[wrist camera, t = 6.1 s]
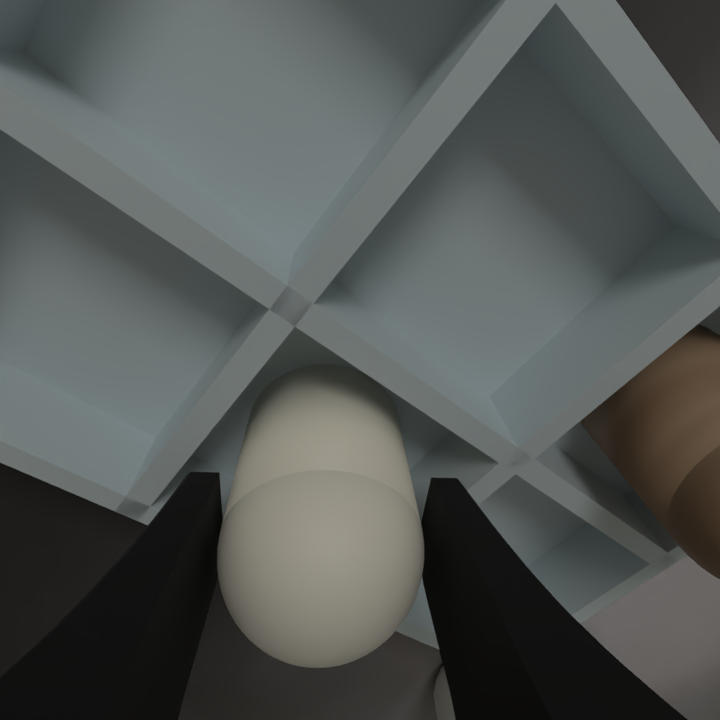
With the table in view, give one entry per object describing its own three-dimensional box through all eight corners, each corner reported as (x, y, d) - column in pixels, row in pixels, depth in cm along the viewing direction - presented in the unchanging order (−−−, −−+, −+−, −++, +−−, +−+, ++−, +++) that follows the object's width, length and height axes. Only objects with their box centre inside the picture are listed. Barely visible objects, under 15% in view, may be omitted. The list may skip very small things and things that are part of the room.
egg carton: (802, 353, 14) (912, 411, 11) (474, 594, 19) (498, 675, 16) (186, -397, 7) (97, -717, 4) (-95, 307, 11) (-220, 368, 9)
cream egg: (407, 368, 12) (467, 570, 7) (388, 485, 14) (423, 712, 9) (247, 359, 12) (180, 568, 7) (251, 481, 14) (201, 716, 9)
